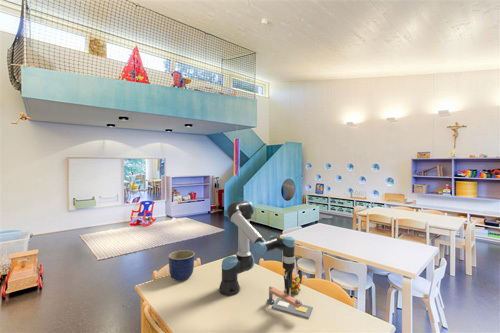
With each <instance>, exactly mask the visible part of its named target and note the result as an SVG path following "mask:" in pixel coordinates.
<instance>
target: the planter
mask: <svg viewBox="0 0 500 333" xmlns="http://www.w3.org/2000/svg"><path fill="white" fill-rule="evenodd" d="M195 255H196V254H195V252H194V251H192V250H187V249H182V250H176V251H173V252H171V253H169V254H168V268H169V269H168V271H169V276H170V277H171V278H172V279H173V280H175V281H178V282H179V281H180V282H181V281H185V280H188V279H190V277H191V276H193V272H194V269H195V266H194V265H195Z"/></svg>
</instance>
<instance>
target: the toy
mask: <svg viewBox="0 0 500 333" xmlns="http://www.w3.org/2000/svg"><path fill="white" fill-rule="evenodd" d="M300 283H301V278H299V277H298V276H296V277H295V278H294V277H292V285H291V286H292V288H291V287H290V288H291V293H292V292H295V293H296V294H297V295H298V294H300V292H299V291H301V288H300V287H301V284H300ZM284 290H285V291H286V289H285V288H284Z"/></svg>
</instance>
